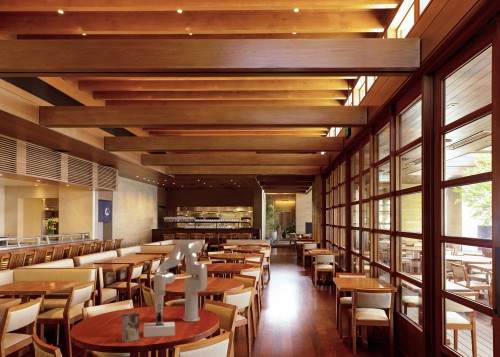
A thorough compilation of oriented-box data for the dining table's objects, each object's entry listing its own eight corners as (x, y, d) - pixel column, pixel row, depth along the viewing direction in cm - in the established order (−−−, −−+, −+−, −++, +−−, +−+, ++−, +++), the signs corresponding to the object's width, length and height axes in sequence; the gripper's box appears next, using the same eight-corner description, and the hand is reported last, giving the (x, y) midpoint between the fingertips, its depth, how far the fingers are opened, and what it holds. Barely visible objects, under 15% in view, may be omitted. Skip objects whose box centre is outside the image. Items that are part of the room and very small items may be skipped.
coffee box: (135, 337, 308) (135, 312, 309) (139, 339, 302) (139, 314, 303) (121, 340, 302) (121, 314, 303) (125, 342, 297) (125, 316, 298)
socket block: (143, 332, 320) (144, 323, 321) (174, 330, 324) (174, 321, 325) (143, 337, 309) (143, 327, 309) (174, 335, 313) (174, 326, 313)
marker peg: (156, 326, 318) (156, 308, 319) (162, 326, 319) (162, 307, 320) (156, 327, 314) (156, 309, 315) (162, 327, 315) (162, 309, 316)
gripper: (153, 290, 326) (153, 318, 324) (153, 295, 309) (153, 323, 308) (165, 290, 327) (164, 317, 326) (165, 294, 311) (165, 323, 309)
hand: (159, 320), depth 317 cm, fingers closed on marker peg, 4 cm apart
